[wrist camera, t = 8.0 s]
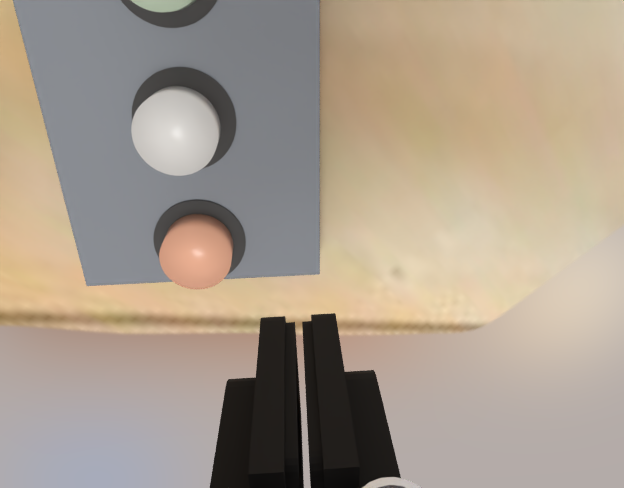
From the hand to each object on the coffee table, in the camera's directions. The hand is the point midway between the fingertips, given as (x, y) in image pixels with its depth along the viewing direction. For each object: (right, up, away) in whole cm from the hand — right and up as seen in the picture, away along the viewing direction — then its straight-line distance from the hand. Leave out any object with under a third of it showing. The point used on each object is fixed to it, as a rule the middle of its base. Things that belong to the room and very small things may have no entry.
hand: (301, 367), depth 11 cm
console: (-8, +12, +21) cm, 25 cm away
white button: (-7, +9, +16) cm, 20 cm away
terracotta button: (-7, +3, +21) cm, 22 cm away
